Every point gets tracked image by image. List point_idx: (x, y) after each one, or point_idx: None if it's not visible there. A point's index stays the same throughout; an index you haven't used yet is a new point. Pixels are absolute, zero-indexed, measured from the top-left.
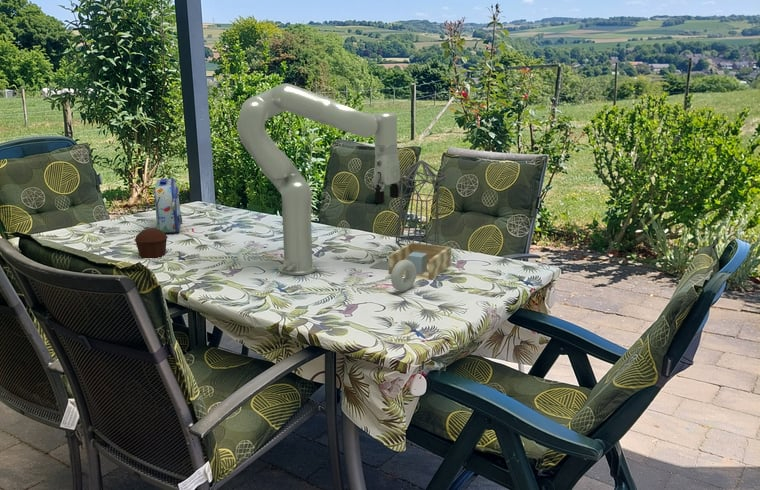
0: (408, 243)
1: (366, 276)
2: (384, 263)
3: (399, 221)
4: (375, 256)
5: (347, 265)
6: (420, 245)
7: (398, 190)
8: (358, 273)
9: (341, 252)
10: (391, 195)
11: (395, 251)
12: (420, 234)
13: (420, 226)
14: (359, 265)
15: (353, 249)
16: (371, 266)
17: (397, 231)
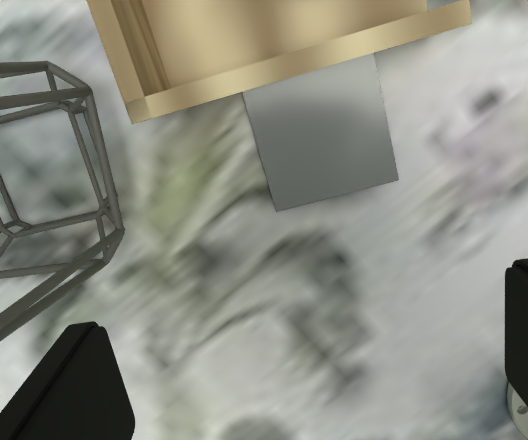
0: (163, 114)
1: (504, 112)
2: (301, 168)
3: (28, 308)
4: (216, 287)
5: (409, 288)
6: (125, 38)
7: (17, 397)
8: (484, 173)
9: (269, 423)
10: (121, 426)
11: (371, 51)
12: (42, 93)
13: (5, 100)
14: (376, 250)
15: (200, 416)
16: (382, 183)
17: (74, 282)
